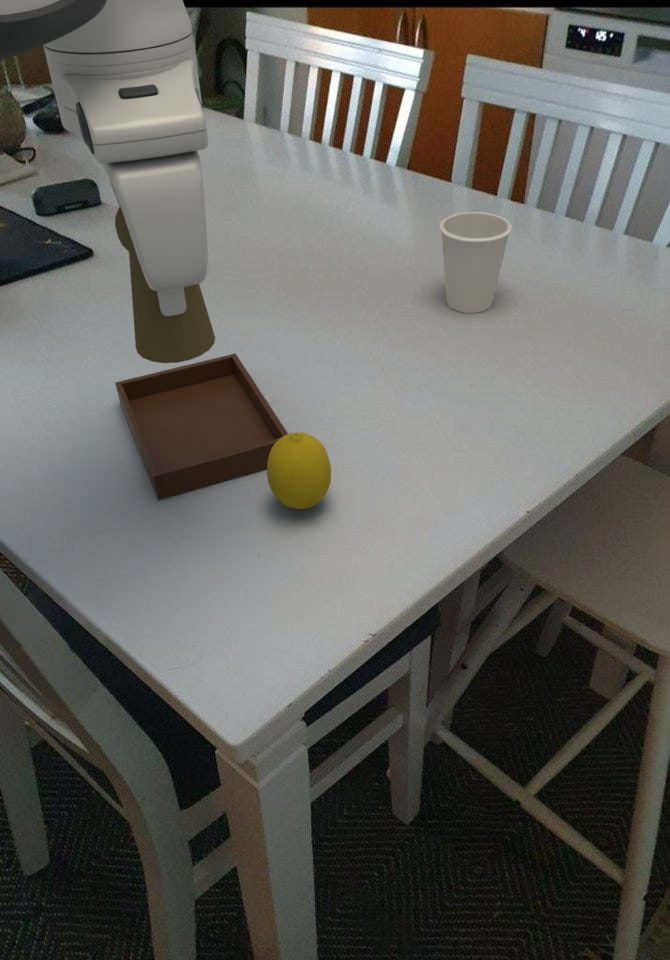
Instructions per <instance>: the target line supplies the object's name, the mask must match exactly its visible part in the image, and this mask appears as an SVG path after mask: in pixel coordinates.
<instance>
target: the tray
mask: <svg viewBox="0 0 670 960" xmlns="http://www.w3.org/2000/svg"><path fill="white" fill-rule="evenodd" d="M114 385H115V389H116V392H117V397H118V400H119V405H120V406H121V410H122V412H123V415H124V417H125V420H126V423H127V425H128V427H129V430H130V433H131V435H132V438H133V440H134V443H135V445H136V448H137V450H138V453H139V455H140V458H141V460H142V463H143V465H144V468H145V470H146V473H147V475H148V478H149V479H150V483H151V485H152V488H153V491H154V493H155V496H156V498H157V501H161V500H164V499H168V498H170V497H173V496H178V495H181V494H185V493H188V492H191V491H195V490H199V489H202V488H205V487H209V486H212V485H216V484H218V483H223V482H226V481H230V480H233V479H237V478H240V477H244V476H247V475H251V474H255V473H257V472H261V471H265V470H267V462H268V457H269V454H270V451H271V449H272V447H273V446H274V444H275V443H276V442H277V441H278V440H279V439H280V438H282V437H283V436H285V435H287V434H289V433H288V431H287V430H286V428H285V427H284V425H283V424H282V421H280V419H279V417H278V416H277V414H276V413H275V411H274V410H273V408H272V407H271V405H270V404H269V402H268V401H267V399H266V397H265V396H264V395H263V393H262V391H261V390H260V389H259V386H257V384H256V382H255V381H254V379H253V378H252V376H251V375H250V373H249V372H248V370H247V368H246V367H245V366H244V364H243V362H242V361H241V359H240V358H239V356H238V355H237V354H236V353H232V354H228V355H223V356H219V357H215V358H209V359H206V360H202V361H198V362H194V363H190V364H186V365H182V366H177V367H174V368H170V369H165V370H161V371H157V372H153V373H149V374H144V375H141V376H136V377H133V378H128V379H127V378H126V379H124V380H123V379H122V380H119V381H115V382H114Z"/></svg>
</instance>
